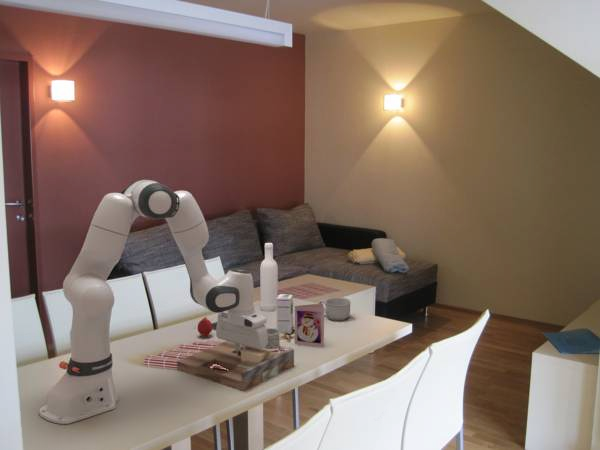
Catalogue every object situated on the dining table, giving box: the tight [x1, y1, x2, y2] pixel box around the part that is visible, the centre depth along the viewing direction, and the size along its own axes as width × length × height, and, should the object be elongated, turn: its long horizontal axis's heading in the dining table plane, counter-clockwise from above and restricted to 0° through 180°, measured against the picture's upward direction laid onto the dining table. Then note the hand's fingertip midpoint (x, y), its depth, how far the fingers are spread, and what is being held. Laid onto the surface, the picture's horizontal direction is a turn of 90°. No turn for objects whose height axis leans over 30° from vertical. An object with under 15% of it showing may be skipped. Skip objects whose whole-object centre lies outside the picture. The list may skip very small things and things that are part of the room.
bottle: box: [259, 242, 279, 312], centre depth 282 cm, size 8×8×30 cm
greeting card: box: [294, 302, 325, 348], centre depth 239 cm, size 11×7×15 cm, turn 73°
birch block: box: [241, 347, 271, 367], centre depth 210 cm, size 6×8×5 cm
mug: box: [264, 328, 280, 349], centre depth 233 cm, size 10×7×7 cm, turn 149°
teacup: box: [318, 296, 352, 322], centre depth 271 cm, size 14×11×8 cm
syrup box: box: [276, 293, 294, 334], centre depth 253 cm, size 6×6×14 cm
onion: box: [197, 316, 213, 338], centre depth 247 cm, size 6×6×8 cm
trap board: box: [176, 340, 295, 392], centre depth 216 cm, size 26×30×6 cm
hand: (241, 355), depth 214 cm, fingers closed
